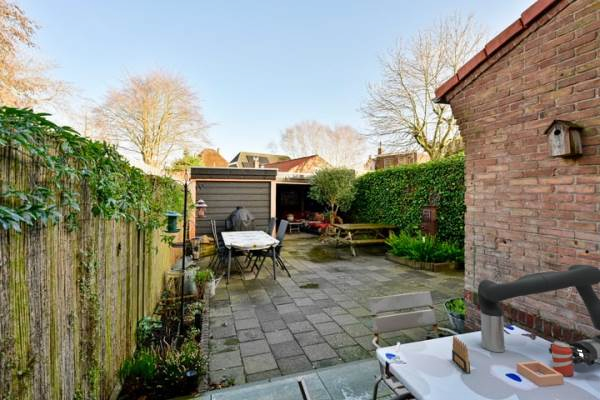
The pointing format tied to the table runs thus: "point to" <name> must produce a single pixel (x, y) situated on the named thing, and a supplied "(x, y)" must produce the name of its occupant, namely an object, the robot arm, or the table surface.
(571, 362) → the beverage can
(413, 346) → the table surface
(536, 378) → the terracotta collar
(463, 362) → the ammunition clip
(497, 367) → the table surface
